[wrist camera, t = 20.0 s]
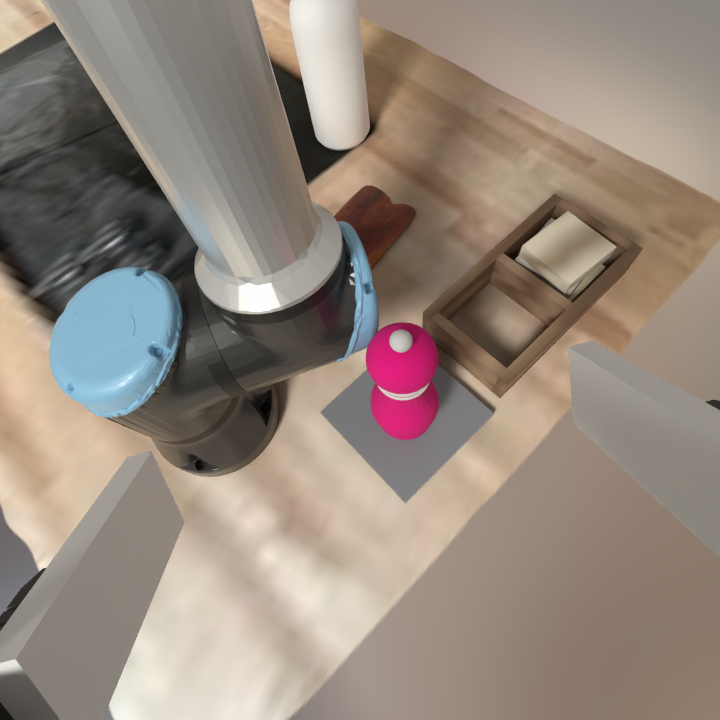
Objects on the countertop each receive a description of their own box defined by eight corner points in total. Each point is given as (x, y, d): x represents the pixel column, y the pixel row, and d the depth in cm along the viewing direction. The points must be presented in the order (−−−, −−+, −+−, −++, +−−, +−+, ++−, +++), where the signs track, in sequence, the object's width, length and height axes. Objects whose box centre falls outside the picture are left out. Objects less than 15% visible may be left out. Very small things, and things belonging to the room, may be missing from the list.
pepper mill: (431, 380, 53) (441, 288, 35) (441, 441, 50) (458, 374, 32) (370, 388, 54) (348, 300, 36) (377, 448, 51) (357, 387, 33)
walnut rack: (422, 331, 57) (423, 312, 53) (544, 220, 62) (554, 193, 57) (499, 398, 53) (508, 383, 48) (624, 273, 57) (643, 248, 53)
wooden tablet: (365, 186, 69) (364, 178, 67) (420, 214, 65) (421, 206, 64) (247, 314, 62) (243, 308, 60) (302, 353, 58) (299, 347, 57)
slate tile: (322, 414, 54) (320, 412, 53) (405, 339, 57) (405, 335, 56) (405, 503, 49) (405, 502, 48) (492, 415, 52) (493, 413, 51)
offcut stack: (503, 274, 59) (512, 246, 54) (546, 234, 61) (559, 202, 56) (559, 316, 56) (575, 289, 51) (603, 272, 58) (623, 242, 52)
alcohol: (374, 146, 71) (351, -113, 43) (319, 158, 71) (261, -93, 44) (365, 108, 74) (338, -153, 47) (312, 120, 75) (255, -134, 47)
